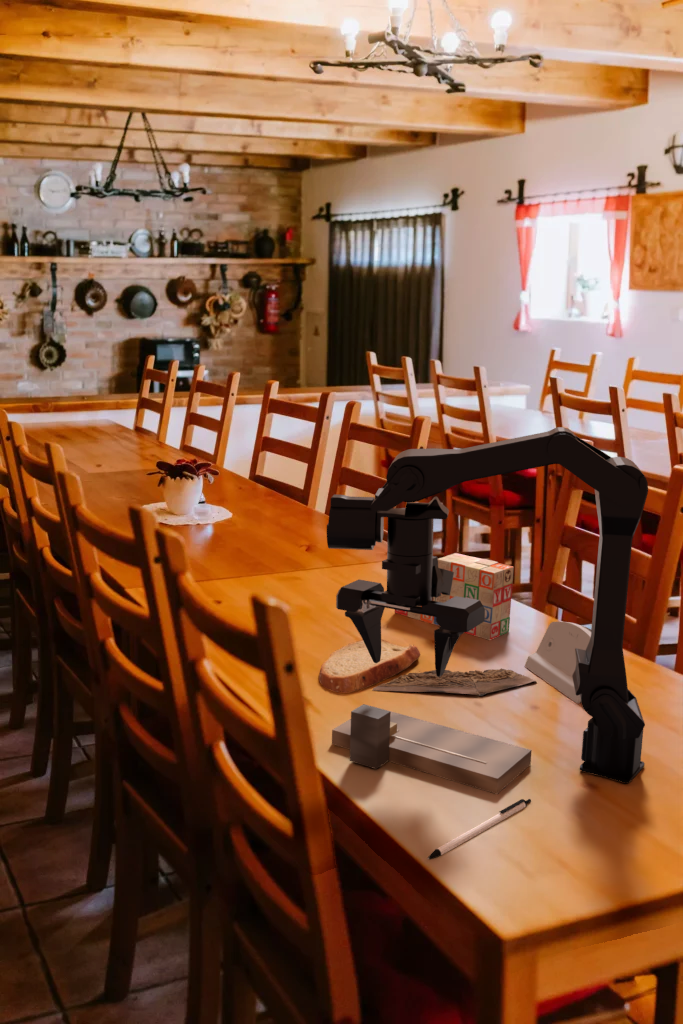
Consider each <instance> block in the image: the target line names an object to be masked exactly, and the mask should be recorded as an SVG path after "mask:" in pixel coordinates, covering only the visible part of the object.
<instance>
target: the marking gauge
mask: <svg viewBox="0 0 683 1024" xmlns="http://www.w3.org/2000/svg"><path fill="white" fill-rule="evenodd" d="M387 710H388V709H384V708H381V709H380V707H377V708H376V706H372V705H370V704H362V705H359V706H358V707H356V708H355V709H353V710H352V711H351V712H350V719H351V734H350V749H349V762H353V763H356V764H360V765H362V766H366V767H367V768H368V767H369V768H371V769H375V770H377V769H379V768H381V766H383V765H384V764H386V763H387V762H390V761H389V741H390V736H392V735H393V734H395V733H396V732H397V723H394V722H390V714H391V712H392V711H391V710H388V711H387Z"/></svg>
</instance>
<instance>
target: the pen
mask: <svg viewBox="0 0 683 1024" xmlns="http://www.w3.org/2000/svg"><path fill="white" fill-rule="evenodd" d="M531 802H532V799H531V798H528V799H527V800H525V799H524V798H521V799H519V800H518V801H515V802H514V803H512V804H510V805H508V806H507V807H504V808H503V809H501V810H499V811H498V813H497V814H495V815H494V816H492V817H490V818H489V819H486V820H485V821H483V822H482V823H479V824H478V825H476V826H475V827H473V828H471V829H469V830H467V831H465V832H464V833H462V834H460V835H458V836H456V837H455V838H453V839H451V840H449V841H447V842H446V843H444V844H442V845H441V846H439V847H437V848H435V849H434V851H432V852H431V853H430V855H429V856H428V857H427V858H426V859H427V860H431V859H436V858H438V857H441V856H442V855H445V854H446V853H448V852H449V851H452V850H453V849H455V848H456V847H458V846H460V845H462V844H463V843H465V842H467V841H469V840H470V839H472V838H474V837H475V836H478V835H479V834H482V832H484V831H486V830H488V829H490V828H492V827H494V826H495V825H497V824H498V823H500V822H501V821H504V820H505V819H507V818H509V817H510V816H512V815H514V814H516V813H517V812H519V811H521V810H523V809H525V808H526V807H527V806H528V804H529V803H531Z"/></svg>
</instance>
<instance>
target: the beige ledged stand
mask: <svg viewBox="0 0 683 1024" xmlns="http://www.w3.org/2000/svg"><path fill="white" fill-rule="evenodd" d="M591 631H592V628H589V627H587V626H584V625H581V624H578V623H575V622H569V621H568V622H567V621H551V622H550V623H549V624H548V627H547V629H546V630H545V633H544V635H543V637H542V638H541V641H540V642H539V645H538V647H537V649H536V651H535V652H533V653H531V654H529V655H528V657H527V659H526V662H525V664H524V667H525V668H526V669H528V670H529V671H530V672H532V673H534V675H536V676H538V677H539V678H540V679H541V680H543V681H545V682H546V683H547V684H549V685H550V686H551V687H553V688H555V689H556V690H557V691H558V692H560V693H562V694H563V695H564V696H565V697H567V698H568V699H570V700H571V701H573V702H574V703H575V704H580V703H581V698H580V695H578V696H577V695H576V693H575V688H574V682H573V677H572V675H573V673H574V671H575V668H576V655H575V649H576V648H578V649H582V650H586V648H587V646H588V643H589V641H590V638H591Z"/></svg>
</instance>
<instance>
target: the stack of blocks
mask: <svg viewBox="0 0 683 1024" xmlns="http://www.w3.org/2000/svg"><path fill="white" fill-rule="evenodd" d="M437 559H438V568H441V569H445V570H448V571H452V572H454V576H453V581H452V587H451V592H450V595H444V594H442V593H441V596H439V597H437V598H436V597H433V598H432V601H437V602H442V603H444V602H446V601H448V600H449V599H451V598H453V597H455V596H458V597H464V598H470V599H475V600H480V601H481V603H482V605H483V606H484V608H485V621H484V622H483V623H481V624H479V625H478V626H476V627H474V628H473V629H471V630H470V631H468V632H465V634H468V635H472V636H474V635H475V636H474V637H479V638H481V637H482V638H483V639H485V640H488V641H491V640H493V638H494V639H495V638H498V637H500V636H502V634H503V635H504V634H507V632H508V633H510V621H511V618H510V617H511V616H510V615H511V607H512V599H513V598H512V597H513V584H514V583H513V579H514V568H515V567H514V566H512V565H508V564H504V563H499V562H498V561H495V560H492V559H486V558H480V557H475V556H469V555H465V554H461V553H458V552H454V553H451V554H448V555H446V556H443V557H439V558H437ZM419 607H422V606H419ZM394 613H395V614H398V615H402V616H406V617H409V618H412V619H414V620H418V621H421V622H425V623H428V624H432V625H436V626H439V625H438V624H437V622H436V617H433V616H428V615H422V614H417V613H412V612H406V611H401V610H395V609H394Z"/></svg>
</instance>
